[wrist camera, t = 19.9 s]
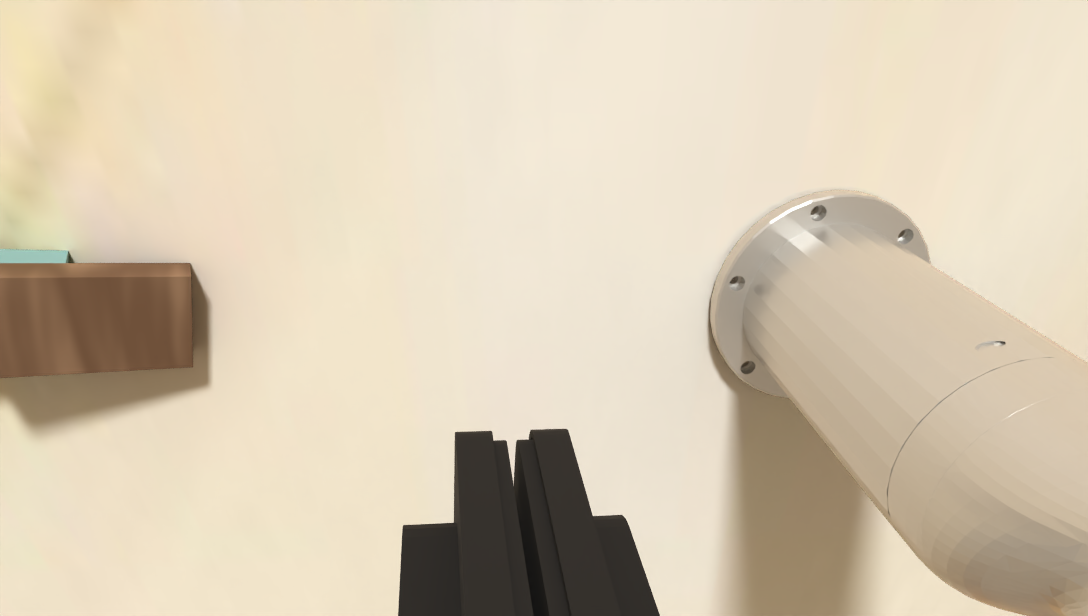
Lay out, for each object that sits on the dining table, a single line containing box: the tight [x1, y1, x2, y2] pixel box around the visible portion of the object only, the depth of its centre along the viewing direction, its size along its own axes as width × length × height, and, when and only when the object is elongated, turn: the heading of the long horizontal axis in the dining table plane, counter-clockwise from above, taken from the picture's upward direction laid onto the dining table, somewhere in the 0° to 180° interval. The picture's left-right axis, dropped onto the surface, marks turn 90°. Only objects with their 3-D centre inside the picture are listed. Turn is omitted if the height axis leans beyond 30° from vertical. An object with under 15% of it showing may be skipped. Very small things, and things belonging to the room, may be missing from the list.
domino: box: [0, 263, 193, 378], centre depth 34 cm, size 2×5×10 cm
